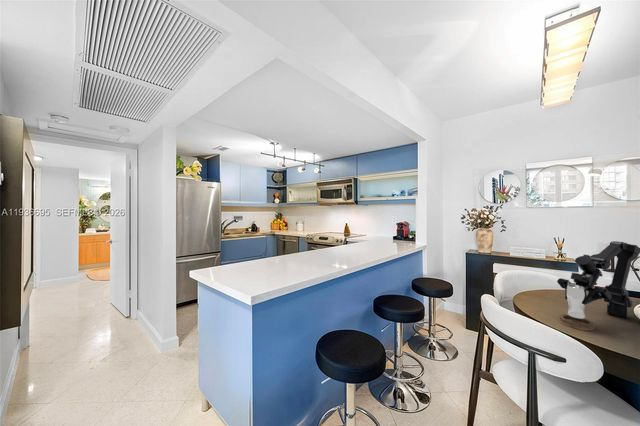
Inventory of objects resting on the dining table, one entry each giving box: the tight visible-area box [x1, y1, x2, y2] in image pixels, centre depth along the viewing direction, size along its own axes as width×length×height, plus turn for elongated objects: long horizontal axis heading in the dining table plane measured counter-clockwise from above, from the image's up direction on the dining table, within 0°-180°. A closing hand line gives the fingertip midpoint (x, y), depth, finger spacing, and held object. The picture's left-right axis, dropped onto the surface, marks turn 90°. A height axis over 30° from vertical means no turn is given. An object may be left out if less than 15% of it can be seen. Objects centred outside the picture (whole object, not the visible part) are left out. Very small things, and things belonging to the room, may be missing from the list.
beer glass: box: [567, 285, 588, 319], centre depth 122 cm, size 7×7×15 cm
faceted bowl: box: [558, 314, 595, 332], centre depth 122 cm, size 12×12×2 cm
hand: (574, 301), depth 122 cm, fingers closed on beer glass, 6 cm apart
